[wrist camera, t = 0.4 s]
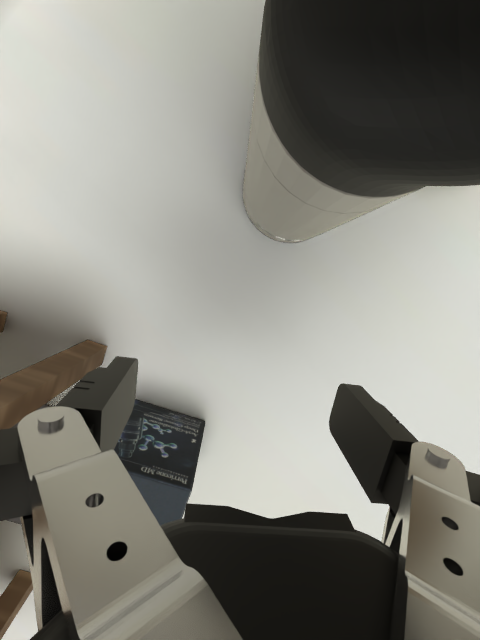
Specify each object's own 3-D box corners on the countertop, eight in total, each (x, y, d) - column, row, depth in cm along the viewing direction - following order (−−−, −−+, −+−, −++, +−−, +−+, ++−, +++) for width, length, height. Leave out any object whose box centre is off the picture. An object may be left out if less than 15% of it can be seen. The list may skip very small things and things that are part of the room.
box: (206, 419, 31) (193, 491, 21) (190, 465, 32) (169, 558, 22) (133, 396, 31) (83, 459, 20) (118, 444, 32) (62, 529, 21)
